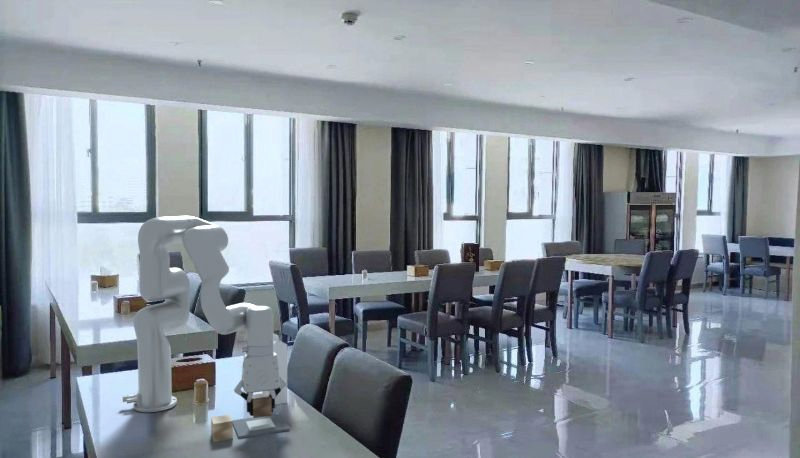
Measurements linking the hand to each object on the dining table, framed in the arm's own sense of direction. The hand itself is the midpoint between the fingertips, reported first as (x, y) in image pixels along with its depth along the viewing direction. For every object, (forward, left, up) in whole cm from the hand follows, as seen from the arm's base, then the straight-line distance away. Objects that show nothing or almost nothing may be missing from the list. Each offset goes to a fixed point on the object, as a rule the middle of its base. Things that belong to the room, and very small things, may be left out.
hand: (260, 412), depth 167 cm
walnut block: (0, 0, -1) cm, 1 cm away
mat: (0, 0, -4) cm, 4 cm away
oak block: (-11, -3, -4) cm, 12 cm away
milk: (+8, +18, -4) cm, 20 cm away
